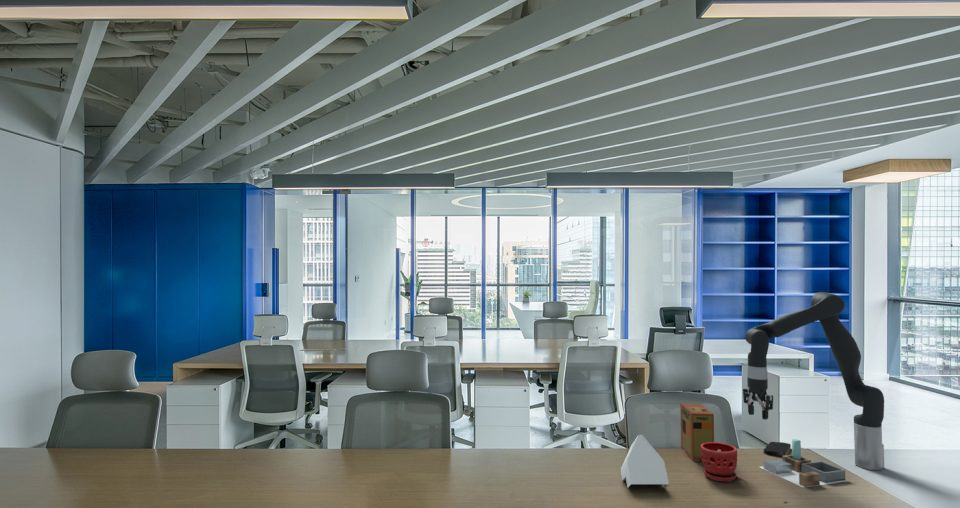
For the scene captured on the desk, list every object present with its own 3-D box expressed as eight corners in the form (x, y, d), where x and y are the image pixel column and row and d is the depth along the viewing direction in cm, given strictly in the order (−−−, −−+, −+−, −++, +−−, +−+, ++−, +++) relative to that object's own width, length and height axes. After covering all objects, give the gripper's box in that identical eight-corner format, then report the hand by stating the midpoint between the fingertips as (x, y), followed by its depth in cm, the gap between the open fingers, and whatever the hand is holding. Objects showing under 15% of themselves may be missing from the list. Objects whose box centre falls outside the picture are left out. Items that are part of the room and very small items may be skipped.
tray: (821, 470, 202) (821, 461, 203) (845, 480, 193) (845, 470, 193) (801, 472, 200) (801, 463, 200) (824, 482, 190) (824, 473, 190)
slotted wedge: (660, 492, 193) (650, 444, 204) (669, 484, 184) (658, 434, 195) (624, 492, 193) (616, 444, 204) (631, 484, 184) (622, 434, 195)
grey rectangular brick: (779, 466, 206) (779, 459, 206) (792, 472, 200) (792, 464, 201) (763, 468, 204) (763, 461, 204) (776, 474, 198) (775, 466, 198)
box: (681, 447, 233) (680, 403, 233) (701, 448, 232) (700, 403, 233) (692, 460, 216) (691, 413, 217) (714, 461, 215) (713, 413, 216)
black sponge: (784, 461, 216) (784, 452, 216) (762, 457, 221) (762, 448, 221) (791, 451, 228) (791, 443, 228) (770, 447, 234) (770, 439, 234)
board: (800, 464, 212) (800, 461, 212) (848, 484, 192) (848, 481, 192) (758, 469, 206) (758, 466, 206) (803, 490, 186) (803, 487, 186)
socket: (796, 463, 209) (795, 454, 209) (811, 470, 202) (811, 460, 203) (782, 465, 207) (782, 455, 207) (797, 472, 201) (797, 461, 201)
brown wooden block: (814, 482, 191) (813, 471, 191) (819, 484, 188) (819, 473, 189) (799, 484, 189) (799, 473, 189) (804, 486, 187) (804, 475, 187)
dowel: (796, 466, 207) (795, 438, 207) (802, 468, 204) (802, 441, 204) (790, 466, 206) (790, 439, 206) (797, 469, 203) (796, 441, 203)
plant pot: (737, 474, 202) (736, 443, 202) (738, 486, 190) (737, 454, 190) (701, 468, 207) (700, 439, 208) (700, 480, 195) (700, 449, 196)
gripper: (778, 379, 207) (779, 421, 206) (751, 373, 221) (751, 411, 220) (763, 380, 205) (764, 422, 204) (737, 374, 219) (737, 413, 218)
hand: (758, 416), depth 212 cm, fingers open, 6 cm apart
